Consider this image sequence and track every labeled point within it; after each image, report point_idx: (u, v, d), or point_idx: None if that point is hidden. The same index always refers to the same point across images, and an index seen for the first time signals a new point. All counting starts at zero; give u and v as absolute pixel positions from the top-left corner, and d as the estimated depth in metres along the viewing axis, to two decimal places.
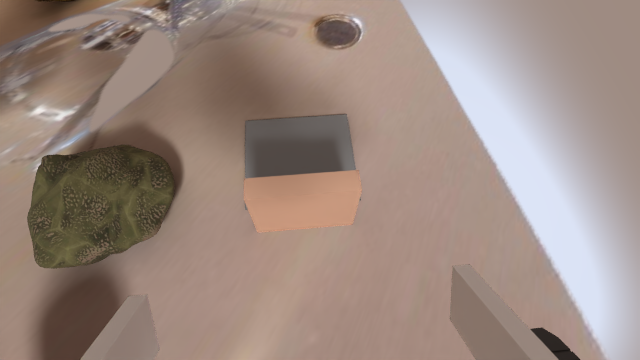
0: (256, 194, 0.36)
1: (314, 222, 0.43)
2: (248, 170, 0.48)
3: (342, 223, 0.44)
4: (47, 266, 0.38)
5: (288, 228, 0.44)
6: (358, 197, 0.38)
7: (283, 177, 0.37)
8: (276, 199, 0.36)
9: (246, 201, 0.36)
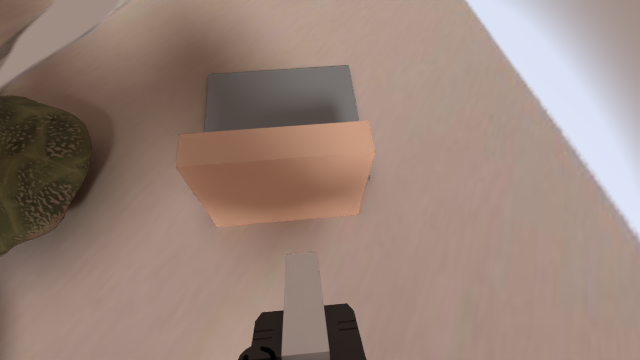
0: (197, 158, 0.21)
1: (301, 211, 0.29)
2: None
3: (342, 212, 0.29)
4: None
5: (262, 219, 0.29)
6: (368, 166, 0.23)
7: (244, 132, 0.22)
8: (233, 168, 0.22)
9: (181, 171, 0.21)
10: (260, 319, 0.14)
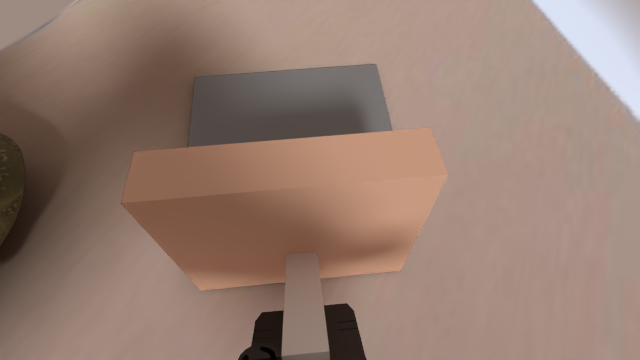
0: (158, 188, 0.13)
1: (321, 267, 0.20)
2: None
3: (379, 267, 0.21)
4: None
5: (265, 279, 0.20)
6: (432, 199, 0.15)
7: (237, 147, 0.14)
8: (216, 204, 0.13)
9: (132, 210, 0.13)
10: (260, 319, 0.14)
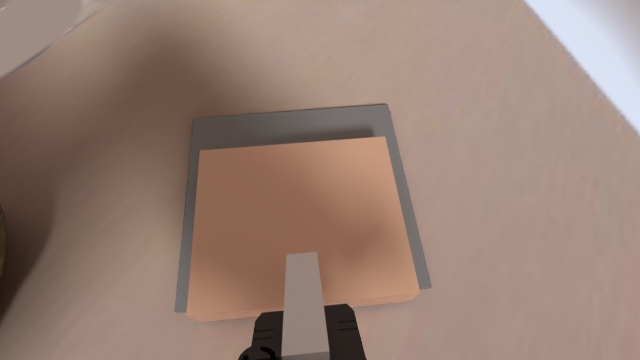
0: None
1: (324, 268, 0.19)
2: (190, 221, 0.23)
3: (390, 278, 0.19)
4: None
5: (263, 293, 0.18)
6: (387, 158, 0.22)
7: None
8: (250, 155, 0.22)
9: (202, 157, 0.22)
10: (260, 319, 0.14)
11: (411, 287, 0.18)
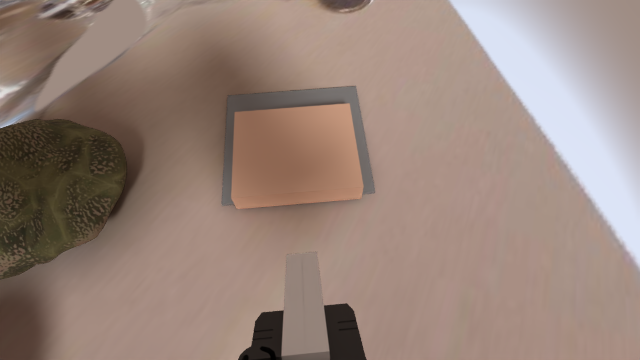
0: None
1: (309, 174, 0.33)
2: (228, 155, 0.37)
3: (347, 179, 0.32)
4: None
5: (274, 187, 0.32)
6: (350, 116, 0.36)
7: None
8: (266, 114, 0.36)
9: (236, 115, 0.36)
10: (260, 319, 0.14)
11: (358, 184, 0.32)
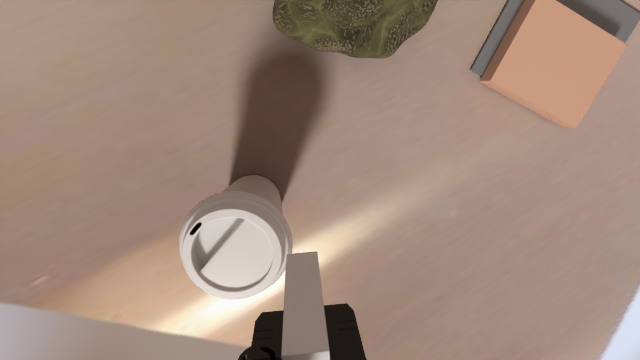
0: None
1: (551, 95, 0.39)
2: (499, 25, 0.39)
3: (571, 115, 0.40)
4: (283, 32, 0.35)
5: (522, 90, 0.39)
6: (617, 59, 0.39)
7: None
8: (561, 12, 0.37)
9: None
10: (260, 319, 0.14)
11: (574, 124, 0.40)
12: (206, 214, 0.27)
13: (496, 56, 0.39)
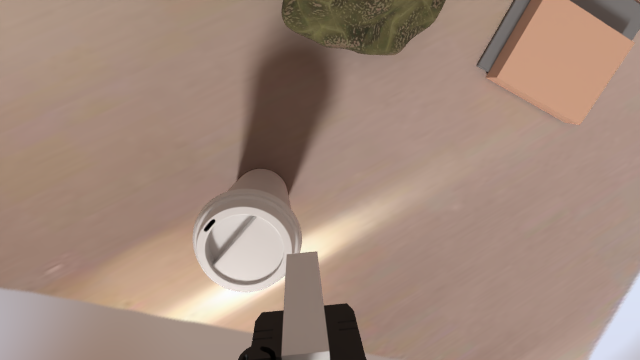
0: None
1: (556, 92, 0.40)
2: (507, 21, 0.39)
3: (575, 112, 0.40)
4: (292, 29, 0.35)
5: (528, 87, 0.39)
6: (623, 56, 0.39)
7: None
8: (570, 9, 0.37)
9: None
10: (260, 319, 0.14)
11: (578, 121, 0.41)
12: (220, 211, 0.28)
13: (503, 53, 0.40)
